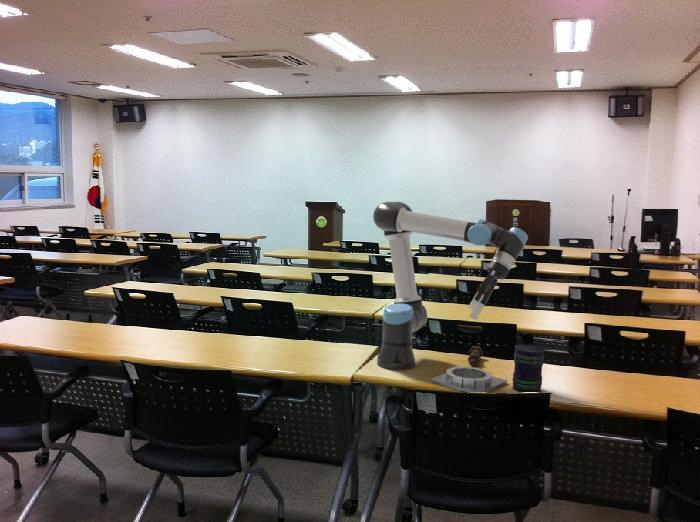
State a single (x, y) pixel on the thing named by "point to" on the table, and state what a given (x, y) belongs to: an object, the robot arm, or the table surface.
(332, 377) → the table surface
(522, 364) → the storage jar
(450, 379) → the hub plate
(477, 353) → the brown tall piece
